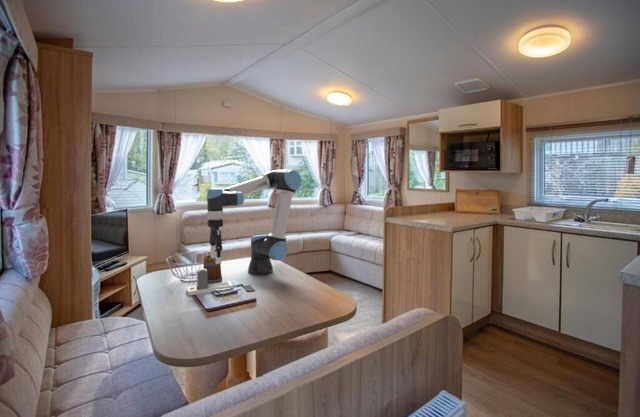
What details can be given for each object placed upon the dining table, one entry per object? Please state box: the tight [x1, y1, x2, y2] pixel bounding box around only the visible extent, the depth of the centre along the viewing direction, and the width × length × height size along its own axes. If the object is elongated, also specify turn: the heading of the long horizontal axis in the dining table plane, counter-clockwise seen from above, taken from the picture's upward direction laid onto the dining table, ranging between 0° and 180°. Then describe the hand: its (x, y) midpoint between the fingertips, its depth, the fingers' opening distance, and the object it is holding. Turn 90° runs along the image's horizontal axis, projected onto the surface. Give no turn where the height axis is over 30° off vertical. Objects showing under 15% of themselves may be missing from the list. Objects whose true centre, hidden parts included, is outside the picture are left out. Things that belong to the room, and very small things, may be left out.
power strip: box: [186, 280, 244, 296], centre depth 183 cm, size 28×7×4 cm, turn 118°
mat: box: [241, 284, 256, 293], centre depth 186 cm, size 9×9×1 cm
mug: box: [202, 254, 223, 284], centre depth 197 cm, size 16×11×15 cm
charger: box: [196, 267, 208, 290], centre depth 179 cm, size 4×4×12 cm
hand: (215, 260), depth 181 cm, fingers open, 11 cm apart
